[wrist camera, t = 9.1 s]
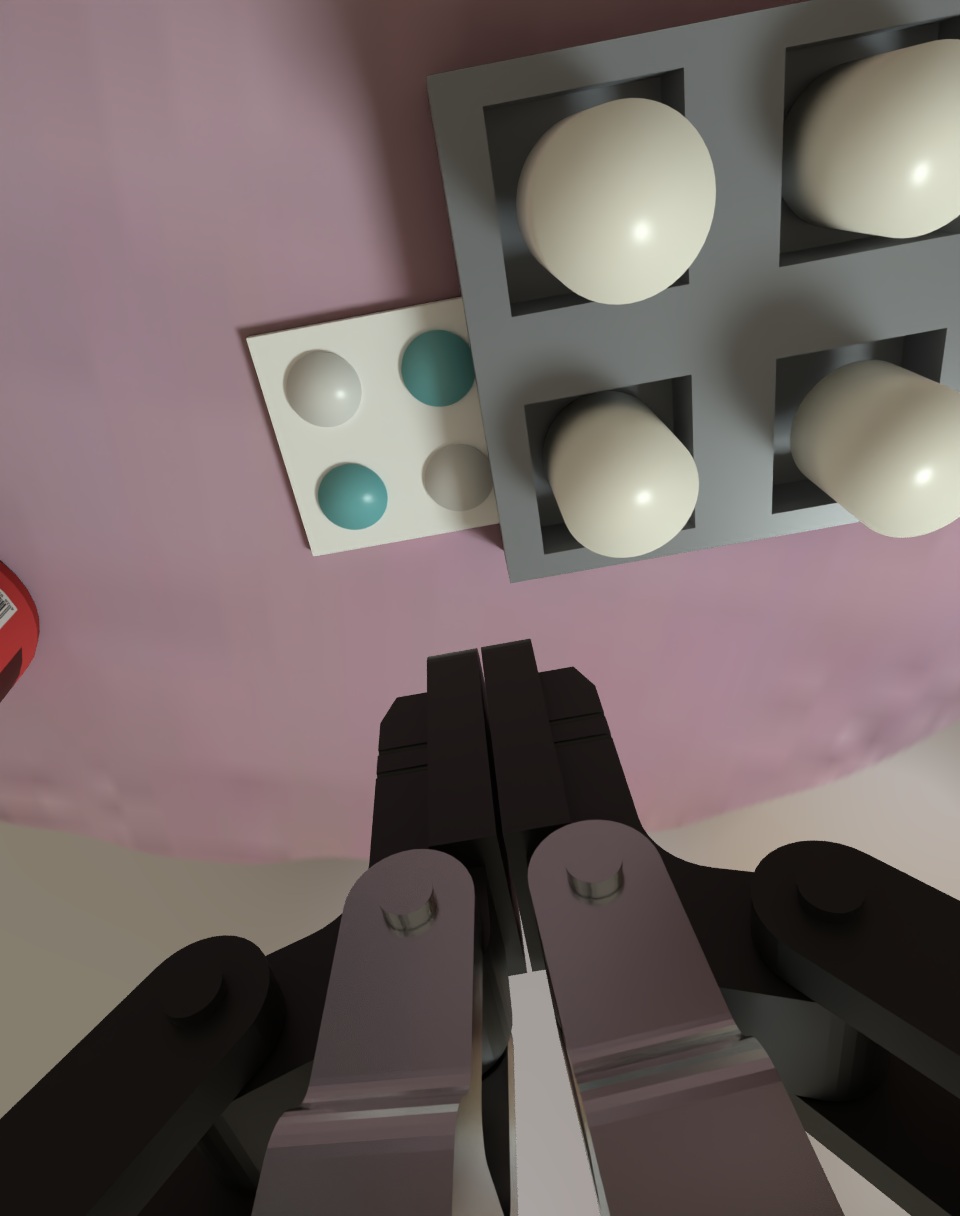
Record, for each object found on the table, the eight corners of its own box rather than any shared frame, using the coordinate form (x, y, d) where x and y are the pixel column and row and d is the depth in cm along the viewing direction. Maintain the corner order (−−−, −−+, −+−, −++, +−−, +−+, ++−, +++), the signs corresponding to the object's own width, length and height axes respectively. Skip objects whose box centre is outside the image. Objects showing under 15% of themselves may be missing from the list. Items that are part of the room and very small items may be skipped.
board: (503, 550, 33) (510, 583, 31) (425, 85, 25) (426, 75, 22) (917, 477, 33) (960, 504, 30) (983, -25, 24) (1050, -47, 22)
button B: (773, 239, 27) (834, 252, 23) (777, 75, 24) (846, 58, 20) (910, 213, 27) (995, 221, 23) (928, 46, 24) (1027, 22, 20)
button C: (550, 517, 32) (568, 568, 28) (535, 403, 29) (552, 440, 25) (665, 497, 32) (700, 545, 28) (660, 380, 29) (697, 414, 25)
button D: (787, 497, 30) (843, 549, 26) (792, 373, 27) (855, 408, 23) (911, 475, 30) (987, 523, 26) (927, 348, 27) (1014, 379, 23)
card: (314, 552, 33) (312, 558, 32) (248, 336, 28) (245, 339, 28) (521, 515, 33) (523, 520, 32) (488, 291, 28) (489, 293, 28)
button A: (526, 295, 25) (545, 319, 21) (505, 126, 23) (522, 117, 19) (670, 268, 25) (716, 287, 21) (664, 95, 23) (714, 80, 19)
